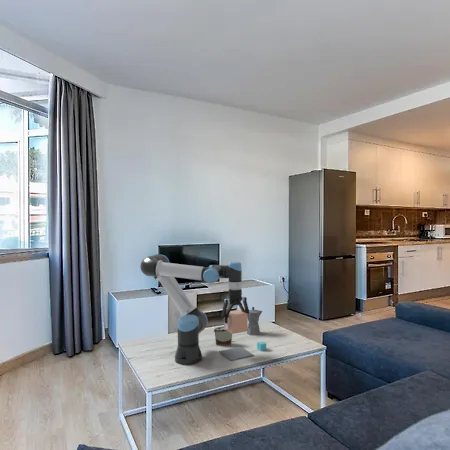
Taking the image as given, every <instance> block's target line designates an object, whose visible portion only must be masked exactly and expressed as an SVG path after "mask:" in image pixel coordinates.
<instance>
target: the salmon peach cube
mask: <svg viewBox="0 0 450 450" xmlns="http://www.w3.org/2000/svg"><path fill="white" fill-rule="evenodd" d="M228 317H229V329H227V328H226V323H225V322H224V321H223V327H224V329H225V330H226V331H228V332H230V333H232V335H234V334H239V333H240V334H241V333H244V332H246V333H247V331H248V323H249V321H248V317H247V313H245V312H242V311H241V309H236V310H231V311H230V313H229V315H228Z"/></svg>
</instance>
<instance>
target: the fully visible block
mask: <svg viewBox="0 0 450 450" xmlns="http://www.w3.org/2000/svg"><path fill="white" fill-rule="evenodd" d="M256 350H258V351H259V352H263V351H267V343H266V342H264V341H257V342H256Z"/></svg>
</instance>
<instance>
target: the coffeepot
mask: <svg viewBox="0 0 450 450" xmlns="http://www.w3.org/2000/svg"><path fill="white" fill-rule="evenodd" d="M262 313H263V311H262V310H259V309H255V307H254V306H252V307H251V309H249V313H248V314H247V320H248V331H246V334H247V335H250V336H257V335H260V334H261V330H260V325H259V320H260V317H261V315H262Z"/></svg>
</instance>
